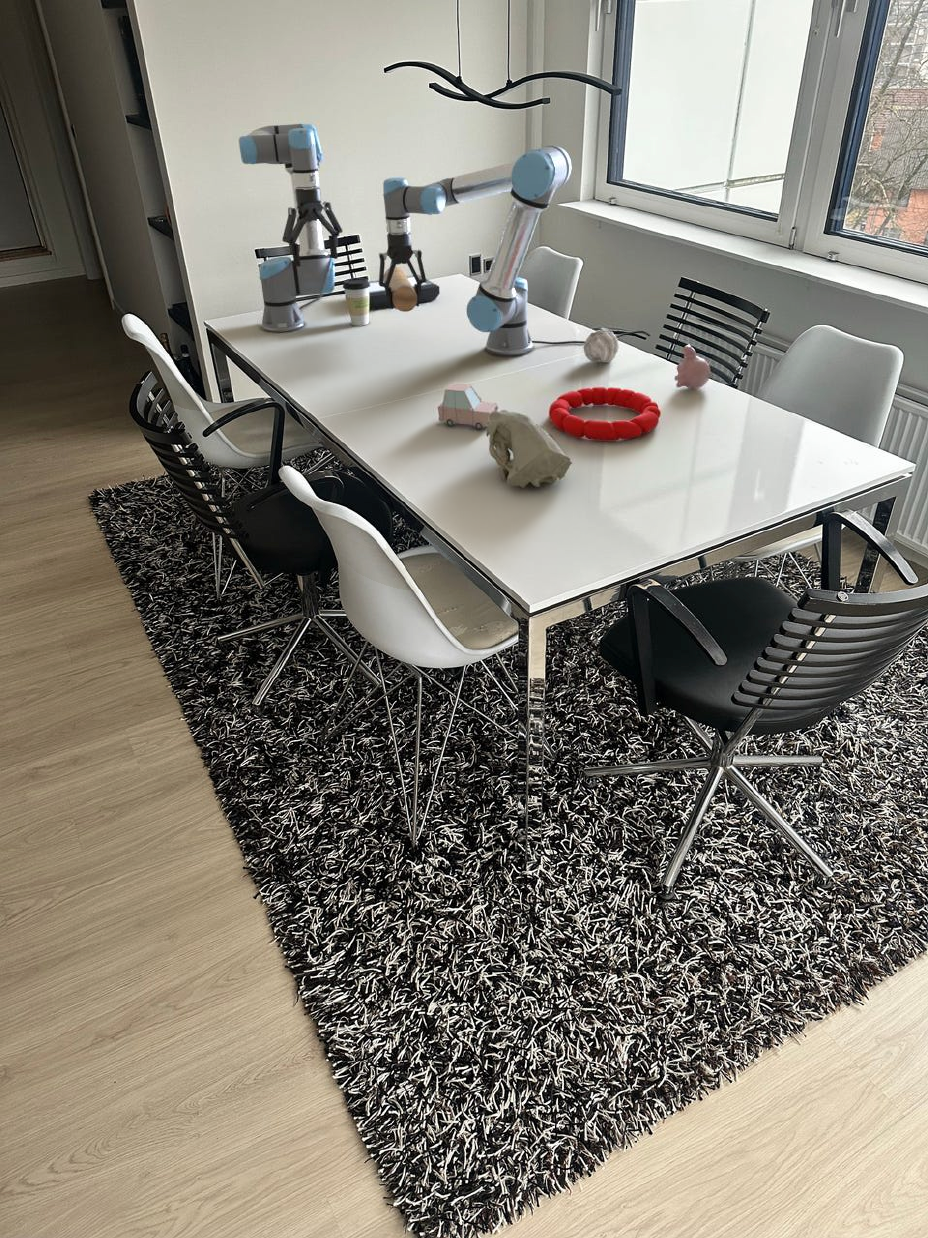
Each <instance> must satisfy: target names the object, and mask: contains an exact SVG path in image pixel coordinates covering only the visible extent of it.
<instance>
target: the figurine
mask: <svg viewBox="0 0 928 1238" xmlns="http://www.w3.org/2000/svg"><path fill="white" fill-rule="evenodd" d="M682 354H683V358H684V359H683V361H682V362H679V363H678V364H677V365H676V372H677V375H675V376H674V381H675V382H676V381H677V382H676V384H675V386H676V388H681V387H686V388H688V389H693V390H694V389H695V390H696V389H700V388H703V387H704V386H705V385H706V384H707V383H708V382H709V379H710V377H711V367H710V364H709V362H708V361H706V359H704V358H702V357H700V356H697V353H696V350H695V349H694V347H692V345H690V344H686V345H685V346H684V347H683V348H682Z"/></svg>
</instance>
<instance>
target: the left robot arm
mask: <svg viewBox="0 0 928 1238" xmlns="http://www.w3.org/2000/svg"><path fill="white" fill-rule="evenodd" d="M238 145H239V153H240V159H241V162H242V164H244V165H258V164H268V165H284V169H285V171H286V172H287V173H288V174H289V175H290V180H291V187H292V195H293V203H294V207H288V208H287V219H286V224H285V228H284V231H283V235H282V240H281V241H282V242H283V243H286V244H288V249H289V254H290V256H292V258H291V257H290V256H277V257H273V258H270V259H267V260H264V261H263V262H261V263H260V265H259V266H258V270H259V280H260V285H261V286H260V287H261V292H262V299H263V313H262V319H261V326H262V330H264V331H265V332H271V333H286V332H293V331H296V330H297V331H298V330H300V329H302V328H304V326H305V319H304V317H303V314H302V312H301V310H302V309H303V308H305V307H307V306H309V305H311V304H313V303H315V302H317V301H318V300H320V299H321V298H322V297H323V296H324V294H331V293H333V291H334V290H335V282H336V281H335V276H336V275H335V274H336V272H335V271H336V270H335V268H336V267H335V260H337V259H338V249H337V247H339V238H338V237H339V236H340V234H341V233H343V229H342V226H341V224H340V223H339V221H338V219H337V217H336V215H335V213H334V211H333V209H332V204H331V202H328V201H323V203H322V194H321V193H322V192H321V188H320V176H319V169H320V163H322V162H323V161H324V158H323V153H322V149H321V144H320V139H319V135H318V131H317V129H316V127H315V126H314V125H313V124H311V123H293V124H276V125H274V124H273V125H266V126H263V127H260V128H257V129H254V130H252V131H251V132H250V133H249V134H247V135H242V136H239V138H238ZM322 211H324V212H325V215H326V216H327V218H328V220H327V218H326V217H325V216H324V214H323V213H322ZM323 227H324V228H325V230H326V231H327V232H328V233H329V234H330V235H328V243H329V251H328V250H327V249H326V248H325V240H324V232H323V231H324V230H323ZM297 240H298V242H299V243H297ZM314 295H319V296H318V297H316V298H315V299H312V300H311V301H309V302H307V303H304V304H302V305H301V306H298V305H299V304H298V303H297V297H300V296H301V297H302V296H303V297H304V296H314Z"/></svg>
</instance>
